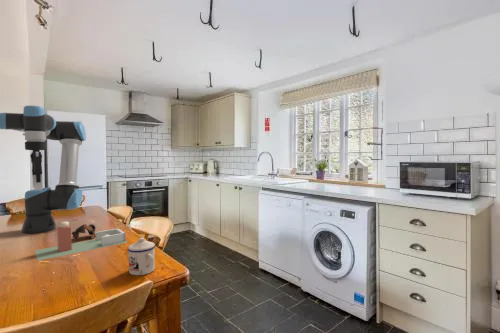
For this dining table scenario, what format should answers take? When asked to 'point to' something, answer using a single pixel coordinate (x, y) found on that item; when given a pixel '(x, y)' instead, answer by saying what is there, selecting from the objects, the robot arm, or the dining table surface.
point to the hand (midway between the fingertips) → (37, 188)
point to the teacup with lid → (141, 257)
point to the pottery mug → (82, 230)
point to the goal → (111, 236)
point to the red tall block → (64, 237)
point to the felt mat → (76, 248)
